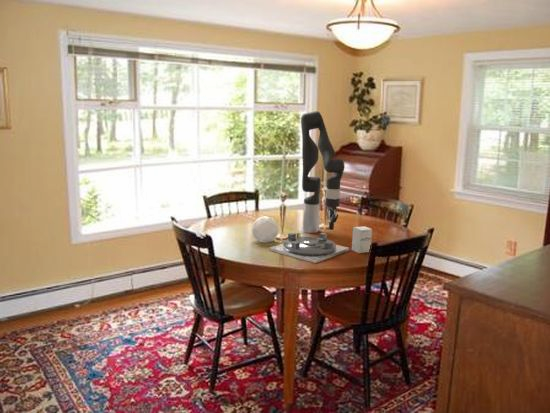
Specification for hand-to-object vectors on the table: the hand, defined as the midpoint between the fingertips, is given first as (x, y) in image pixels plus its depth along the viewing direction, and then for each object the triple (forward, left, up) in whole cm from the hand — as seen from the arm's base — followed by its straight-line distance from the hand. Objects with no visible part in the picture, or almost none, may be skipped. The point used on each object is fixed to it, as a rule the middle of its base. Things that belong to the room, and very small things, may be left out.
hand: (331, 229), depth 266 cm
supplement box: (-10, +13, -11) cm, 20 cm away
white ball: (+13, -35, -11) cm, 39 cm away
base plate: (+9, -7, -11) cm, 16 cm away
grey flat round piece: (+9, -7, -10) cm, 15 cm away
